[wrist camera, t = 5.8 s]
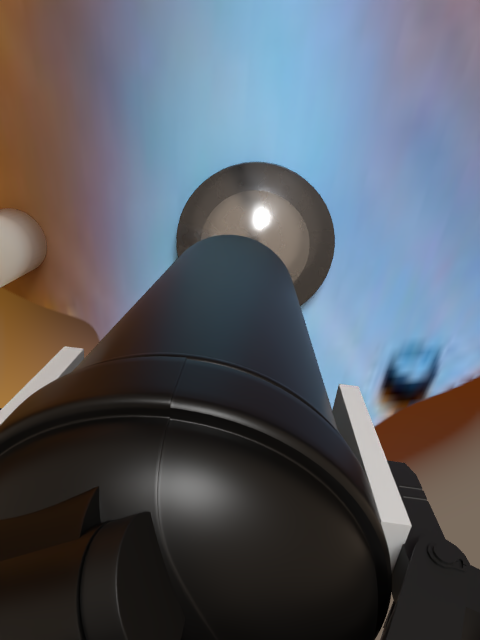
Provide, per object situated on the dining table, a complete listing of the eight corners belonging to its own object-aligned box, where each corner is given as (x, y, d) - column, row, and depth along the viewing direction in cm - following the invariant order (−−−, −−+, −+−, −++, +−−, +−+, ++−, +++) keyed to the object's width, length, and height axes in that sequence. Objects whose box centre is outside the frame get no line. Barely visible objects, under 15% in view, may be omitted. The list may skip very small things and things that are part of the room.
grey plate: (184, 152, 42) (180, 153, 40) (346, 171, 42) (349, 173, 40) (176, 303, 48) (172, 310, 46) (316, 320, 48) (319, 328, 46)
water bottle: (193, 386, 30) (30, 939, 9) (125, 257, 27) (-381, 661, 6) (329, 338, 28) (517, 904, 7) (273, 193, 25) (321, 453, 4)
